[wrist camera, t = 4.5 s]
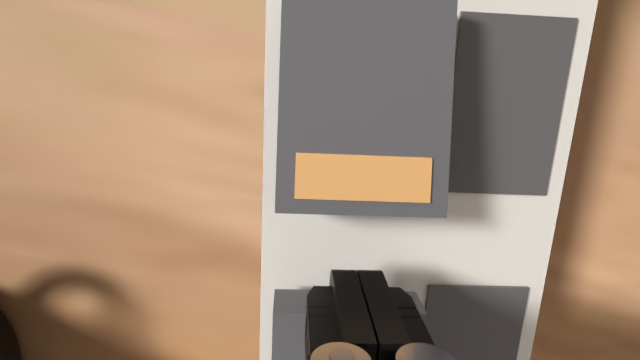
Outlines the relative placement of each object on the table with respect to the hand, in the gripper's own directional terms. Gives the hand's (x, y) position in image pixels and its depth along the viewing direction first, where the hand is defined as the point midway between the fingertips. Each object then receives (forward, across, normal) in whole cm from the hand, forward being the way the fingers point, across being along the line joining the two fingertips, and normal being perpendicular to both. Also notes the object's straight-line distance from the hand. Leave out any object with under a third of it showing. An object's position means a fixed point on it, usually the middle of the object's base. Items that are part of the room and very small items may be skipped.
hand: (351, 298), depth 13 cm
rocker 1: (+1, 0, -6) cm, 6 cm away
